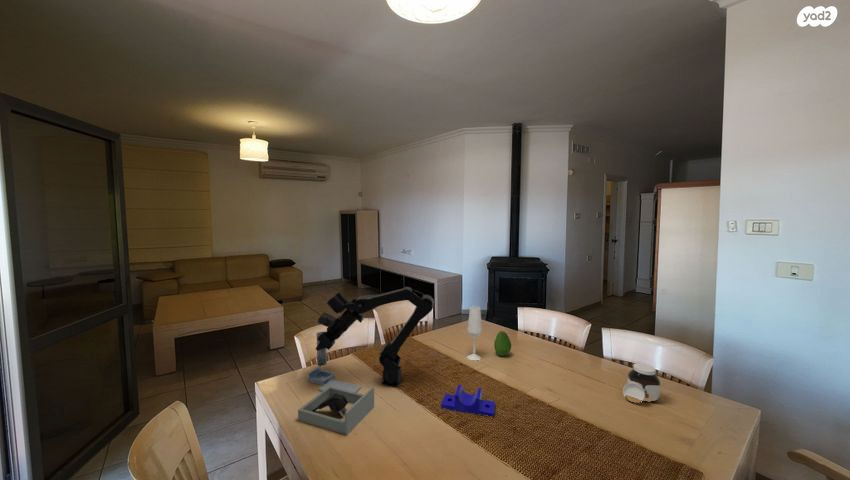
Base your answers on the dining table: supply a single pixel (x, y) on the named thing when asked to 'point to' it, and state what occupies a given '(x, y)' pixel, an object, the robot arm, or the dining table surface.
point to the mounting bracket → (468, 402)
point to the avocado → (502, 344)
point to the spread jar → (642, 382)
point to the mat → (340, 386)
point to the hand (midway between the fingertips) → (318, 347)
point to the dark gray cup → (321, 354)
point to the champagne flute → (474, 329)
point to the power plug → (334, 404)
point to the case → (352, 415)
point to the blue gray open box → (320, 376)
